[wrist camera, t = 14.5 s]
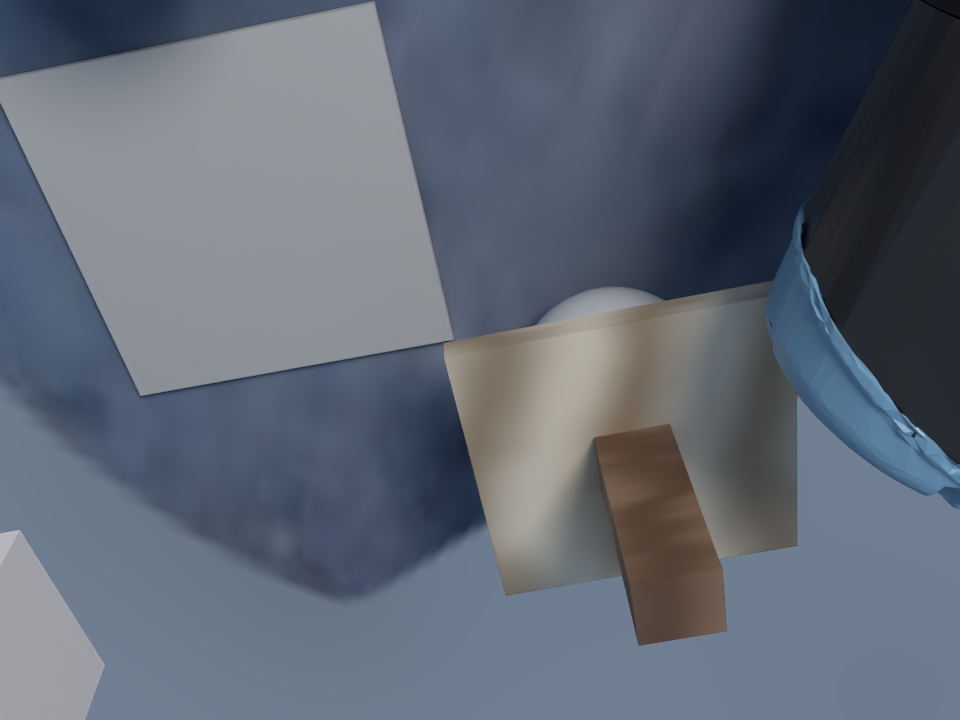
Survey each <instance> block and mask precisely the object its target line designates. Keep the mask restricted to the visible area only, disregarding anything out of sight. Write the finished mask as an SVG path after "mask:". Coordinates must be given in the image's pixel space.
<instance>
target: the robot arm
mask: <svg viewBox="0 0 960 720" xmlns="http://www.w3.org/2000/svg"><path fill="white" fill-rule="evenodd" d="M766 325H767V329H768V332H769V336H770V338H771V340H772V342H773V352H774V355H775V358H776V360H777V362H778V364H779V366H780V368H781V369H782V371H783V373H784V375H785V377H786V378H787V380H788V382H789V383H790V385H791V386H792V388H793V389H794V390H795V392H796V393H797V394H798V396H799V397H800V398H801V399H802V401H803V402H804V403H805V404H806V405H807V407H808V408H809V409H810V410H811V411H812V413H813V414H814V415H815V416H816V417H817V418H818V419H819V420H820V421H821V422H822V423H823V424H824V425H825V426H826V427H827V428H828V429H829V430H830V431H832V432H833V433H834V434H835V435H836V436H837V437H838V438H839V439H840V440H841V441H842V442H844V443H845V444H846V445H847V446H848V447H849V448H851V449H852V450H853V451H854V452H856V453H857V454H858V455H859V456H861V457H862V458H864V459H865V460H866V461H868V462H869V463H870V464H872V465H873V466H874V467H876V468H877V469H879V470H880V471H882V472H883V473H885V474H886V475H888V476H890V477H891V478H893V479H895V480H896V481H898V482H900V483H902V484H904V485H905V486H907V487H909V488H911V489H913V490H915V491H917V492H919V493H921V494H923V495H926V496H927V495H933V494H934V493H937V492H938V493H939V494H941V495H942V496H943V498H944V499H945V500H946V501H947V502H948V503H949V504H951V506H953V507H954V508H958V509H960V0H912V2H911V4H910V6H909V8H908V10H907V12H906V13H905V15H904V17H903V19H902V21H901V23H900V25H899V27H898V29H897V31H896V33H895V35H894V37H893V39H892V41H891V43H890V45H889V47H888V49H887V51H886V53H885V55H884V57H883V59H882V61H881V63H880V65H879V67H878V69H877V71H876V73H875V75H874V77H873V79H872V81H871V83H870V85H869V87H868V89H867V91H866V93H865V95H864V97H863V99H862V101H861V103H860V105H859V107H858V108H857V110H856V112H855V114H854V116H853V118H852V120H851V122H850V124H849V126H848V127H847V129H846V131H845V133H844V135H843V137H842V139H841V141H840V143H839V145H838V146H837V148H836V150H835V152H834V154H833V156H832V158H831V160H830V162H829V164H828V165H827V167H826V169H825V171H824V173H823V175H822V177H821V179H820V181H819V183H818V184H817V186H816V188H815V190H814V192H813V194H812V195H810V196H809V198H808V199H807V200H806V201H805V203H804V204H803V205H802V206H801V208H800V210H799V211H798V213H797V216H796V219H795V222H794V227H793V233H792V240H791V243H790V245H789V247H788V249H787V252H786V254H785V256H784V258H783V260H782V263H781V265H780V267H779V269H778V271H777V274H776V276H775V278H774V280H773V283H772V285H771V287H770V290H769V294H768V298H767V302H766ZM104 666H105V665H104V663H103V662H102V660H101V658H100V657H99V655H98V654H97V652H96V651H95V649H94V647H93V646H92V644H91V643H90V641H89V639H88V638H87V636H86V635H85V633H84V631H83V630H82V628H81V627H80V625H79V623H78V622H77V620H76V619H75V617H74V616H73V614H72V612H71V611H70V609H69V608H68V606H67V605H66V603H65V601H64V600H63V598H62V597H61V595H60V594H59V592H58V590H57V589H56V587H55V585H54V584H53V582H52V581H51V579H50V578H49V576H48V574H47V573H46V571H45V570H44V568H43V566H42V565H41V563H40V562H39V560H38V558H37V557H36V555H35V554H34V552H33V551H32V549H31V547H30V546H29V544H28V543H27V541H26V540H25V538H24V536H23V535H22V533H21V532H20V530H18V531H12V532H6V533H0V720H85V718H86V716H87V713H88V710H89V707H90V705H91V702H92V699H93V696H94V694H95V691H96V688H97V685H98V682H99V680H100V677H101V674H102V671H103V669H104Z"/></svg>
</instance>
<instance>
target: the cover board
mask: <svg viewBox="0 0 960 720" xmlns="http://www.w3.org/2000/svg"><path fill="white" fill-rule="evenodd" d="M772 283H773V281H767V282H762V283H757V284H752V285H746V286H741V287H736V288H731V289H725V290H720V291H715V292H710V293H704V294H699V295H694V296H689V297H683V298H678V299H673V300H668V301H662V302H657V303H652V304H647V305H641V306H636V307H631V308H626V309H620V310H615V311H610V312H605V313H599V314H594V315H589V316H584V317H578V318H573V319H568V320H563V321H557V322H552V323H547V324H542V325H536V326H531V327H526V328H521V329H515V330H510V331H505V332H500V333H494V334H489V335H484V336H479V337H473V338H468V339H463V340H458V341H452V342H447V343H444V359H445V363H446V367H447V371H448V375H449V378H450V382H451V386H452V390H453V394H454V398H455V402H456V405H457V409H458V413H459V417H460V421H461V425H462V429H463V432H464V436H465V440H466V444H467V448H468V452H469V456H470V459H471V463H472V467H473V471H474V475H475V479H476V483H477V486H478V490H479V494H480V498H481V502H482V506H483V510H484V513H485V517H486V521H487V525H488V529H489V532H490V536H491V540H492V544H493V548H494V552H495V556H496V560H497V564H498V567H499V571H500V575H501V579H502V583H503V586H504V591H505V594H506V595H512V594H518V593H524V592H529V591H536V590H541V589H547V588H553V587H559V586H565V585H570V584H576V583H582V582H588V581H594V580H600V579H606V578H611V577H617V576H622V577H623V581H624V585H625V589H626V594H627V598H628V602H629V607H630V611H631V615H632V619H633V623H634V628H635V632H636V636H637V640H638V644H639V645H646V644H652V643H658V642H664V641H670V640H676V639H681V638H688V637H694V636H700V635H706V634H712V633H718V632H724V631H727V626H726V612H725V597H724V582H723V569H722V566H721V564H720V561H719V559H722V558H728V557H734V556H740V555H745V554H752V553H758V552H763V551H769V550H775V549H780V548H787V547H793V546H797V393H796V392H795V390H794V389H793V388H792V386H791V385H790V383H789V382H788V380H787V378H786V377H785V375H784V373H783V371H782V369H781V368H780V366H779V364H778V362H777V360H776V358H775V355H774V352H773V342H772V340H771V338H770V336H769V332H768V329H767V325H766V302H767V298H768V294H769V290H770V287H771V285H772Z"/></svg>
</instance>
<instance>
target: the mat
mask: <svg viewBox="0 0 960 720" xmlns="http://www.w3.org/2000/svg"><path fill="white" fill-rule="evenodd" d="M0 103H1V105H2V107H3V109H4V111H5V114H6V116H7V118H8V120H9V122H10V124H11V126H12V128H13V130H14V132H15V134H16V137H17V139H18V141H19V143H20V145H21V147H22V149H23V151H24V153H25V155H26V157H27V160H28V162H29V164H30V166H31V168H32V170H33V172H34V174H35V176H36V178H37V180H38V183H39V185H40V187H41V189H42V191H43V193H44V195H45V197H46V199H47V201H48V203H49V206H50V208H51V210H52V212H53V214H54V216H55V218H56V220H57V222H58V224H59V226H60V229H61V231H62V233H63V235H64V237H65V239H66V241H67V243H68V245H69V247H70V249H71V252H72V254H73V256H74V258H75V260H76V262H77V264H78V266H79V268H80V270H81V272H82V275H83V277H84V279H85V281H86V283H87V285H88V287H89V289H90V291H91V293H92V295H93V298H94V300H95V302H96V304H97V306H98V308H99V310H100V312H101V314H102V316H103V318H104V321H105V323H106V325H107V327H108V329H109V331H110V333H111V335H112V337H113V339H114V341H115V344H116V346H117V348H118V350H119V352H120V354H121V356H122V358H123V360H124V362H125V364H126V367H127V369H128V371H129V373H130V375H131V377H132V379H133V381H134V383H135V385H136V387H137V390H138V392H139V394H140V396H143V395H148V394H154V393H160V392H165V391H171V390H176V389H182V388H187V387H193V386H199V385H204V384H210V383H215V382H221V381H226V380H232V379H238V378H243V377H249V376H254V375H260V374H265V373H271V372H277V371H282V370H288V369H293V368H299V367H304V366H310V365H316V364H321V363H327V362H332V361H338V360H343V359H349V358H355V357H360V356H366V355H371V354H377V353H382V352H388V351H394V350H399V349H405V348H410V347H416V346H421V345H427V344H433V343H438V342H444V341H449V340H454V335H453V330H452V326H451V322H450V318H449V314H448V309H447V305H446V301H445V297H444V292H443V288H442V284H441V280H440V275H439V271H438V267H437V263H436V258H435V254H434V250H433V246H432V241H431V237H430V233H429V229H428V225H427V220H426V216H425V212H424V208H423V203H422V199H421V195H420V191H419V186H418V182H417V178H416V174H415V169H414V165H413V161H412V157H411V152H410V148H409V144H408V140H407V136H406V131H405V127H404V123H403V119H402V114H401V110H400V106H399V102H398V97H397V93H396V89H395V85H394V80H393V76H392V72H391V68H390V63H389V59H388V55H387V51H386V47H385V42H384V38H383V34H382V30H381V25H380V21H379V17H378V13H377V8H376V4H375V1H372V2H367V3H362V4H357V5H352V6H348V7H343V8H338V9H333V10H328V11H323V12H318V13H313V14H309V15H304V16H299V17H294V18H289V19H284V20H279V21H274V22H269V23H265V24H260V25H255V26H250V27H245V28H240V29H235V30H230V31H225V32H221V33H216V34H211V35H206V36H201V37H196V38H191V39H186V40H182V41H177V42H172V43H167V44H162V45H157V46H152V47H147V48H142V49H138V50H133V51H128V52H123V53H118V54H113V55H108V56H103V57H98V58H94V59H89V60H84V61H79V62H74V63H69V64H64V65H59V66H55V67H50V68H45V69H40V70H35V71H30V72H25V73H20V74H15V75H11V76H6V77H1V78H0Z"/></svg>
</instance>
